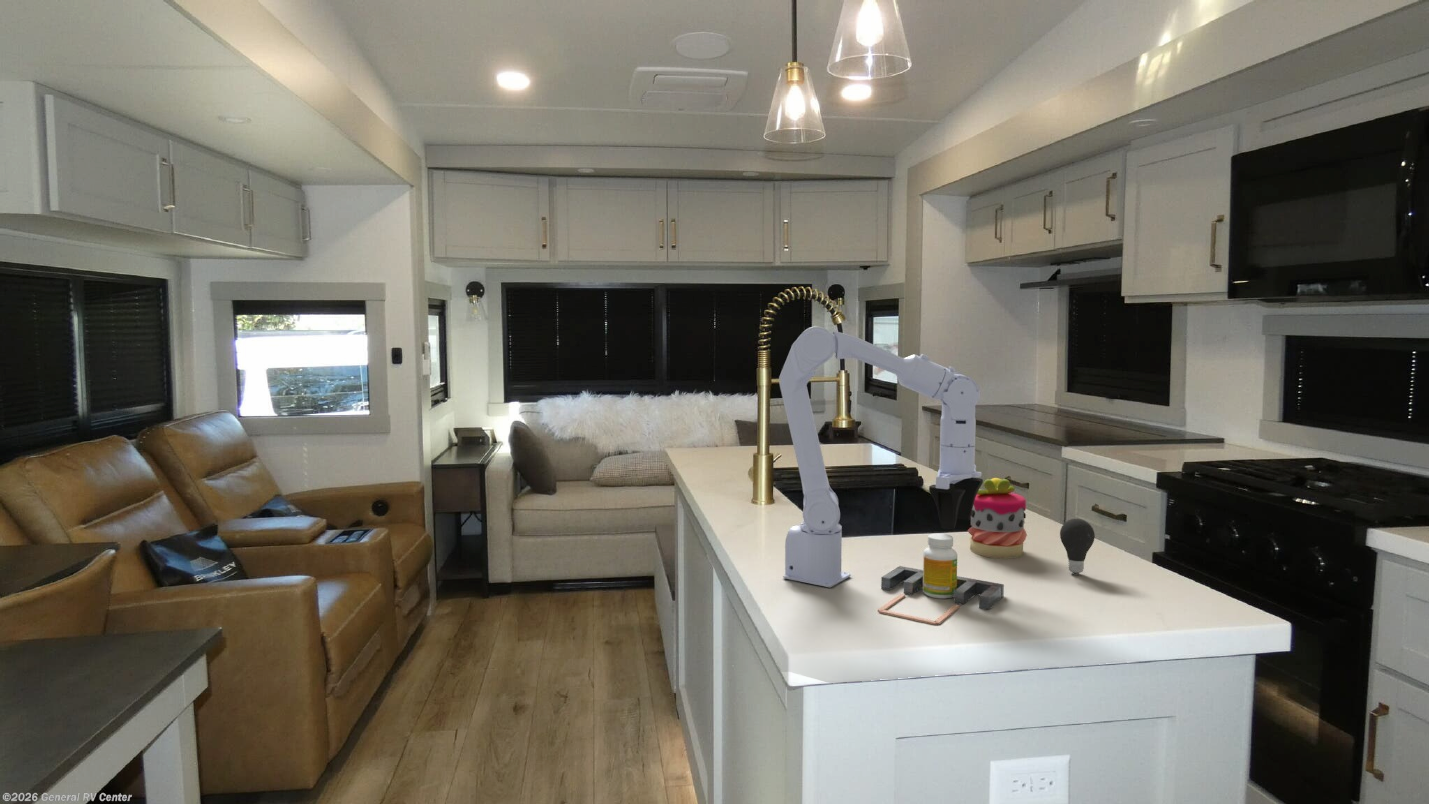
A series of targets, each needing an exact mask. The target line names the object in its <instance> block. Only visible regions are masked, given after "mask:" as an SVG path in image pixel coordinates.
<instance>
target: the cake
mask: <svg viewBox="0 0 1429 804" xmlns="http://www.w3.org/2000/svg"><path fill="white" fill-rule="evenodd" d="M983 486H984V488H985V489H979V490H978V492H977V495H976V497H975V501H974V504H973V508H972V513H971V516H970V526H971V527H969V529H968V530H967V532H968V534H969V535H971V536H970V543H969V544H970V545H969V548H970V549H969V550H970V552H971V553H973V554H975V555H979V556H982V557H987V558H991V559H992V558H994V559H995V558H996V559H1014V558H1020V557H1021V556H1023V555H1024V542H1025V541H1026V538H1027V536H1028V534H1027V531H1026V530H1025V523H1026V522H1025V519H1026V517H1027V514H1026V512H1025V511H1026V508H1027V507H1026V506H1027V504H1026V503H1027V501H1026V499H1025V497H1023V495H1020V494H1017V493H1014V491H1015V487H1014V486H1013V485H1011V482H1010V481H1009V480H1008V479H1006V478H1004V479H1001V478H998V477H993V478H991V479H990V478H989V479H985V481H983Z"/></svg>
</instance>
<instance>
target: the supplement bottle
mask: <svg viewBox="0 0 1429 804" xmlns="http://www.w3.org/2000/svg"><path fill="white" fill-rule="evenodd" d="M927 545H928V547H926V548H925V549H924V550H923V556H922V557H923V562H922V563H923V564H922V565H923V566H922V568H923V569H922V570H923V588H922V593H923V594H924V595H925V596H927V597H930V598H933V599H943V600H944V599H952V598H954V591H955V590H956V589H957V576H958V553H957V551H956V550H955V549H954V548H952V547H953V546H954V536H952V535H950V534H946V533H931V534H930V533H929V534H928V536H927Z"/></svg>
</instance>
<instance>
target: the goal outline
mask: <svg viewBox="0 0 1429 804" xmlns="http://www.w3.org/2000/svg"><path fill="white" fill-rule="evenodd" d="M905 598H906V594H905V593H903V594H902V593H899V595H897V596H896V597H894V598H892V599H891V600H890V601H888V602H887V603H885V604H884V605H883V606H880V607H879V608H878V609H877V612H878V613H879V614H882V615H883V614H884V615H888V616H893V617H898V618H901V619H906V620H911V621H916V622H920V623H925V624H930V625H934V626H935V625H941V624H943V622H944V621H945V620H946V619H948V618H949V617H950V616H952V614H954V613H955V612H956V611H957V610H959V608H960V607H961V606H960V604H953V605H952V606H951V607H950V608H949V609H947V610H946V611H945V612H944V613H943V614H941V615H940V616H939V617H937V619H935V620H934V619H933V620H932V619H929V618H923V617H919V616H913V615H910V614H909V615H908V614H904V613H901V612H895V611H891V610H889V608H891V607H893V606H894V605H895V604H897V603H899V602H900V601H901V600H903V599H905Z"/></svg>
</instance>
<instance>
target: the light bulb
mask: <svg viewBox="0 0 1429 804" xmlns="http://www.w3.org/2000/svg"><path fill="white" fill-rule="evenodd" d="M1059 536H1060V537H1059V538H1060V541H1061V543H1062V545H1063V546H1064V548H1065V551H1066V556H1067V559H1068V567H1067V568H1068V571H1070V572H1071V573H1072V574H1073V575H1075V576H1078V575H1080V574H1081V573H1083V572H1084V568H1085V561H1086V558H1087V554H1088V552H1089V550H1090V549H1091V547H1092V546H1093V544H1094V543H1095V539H1096V538H1095V537H1096V535H1095V531H1094V528H1093V526H1092V525H1091V524H1090V523H1089V522H1088V521H1086V520H1084V519H1081V518H1071V519H1069V520H1067V521H1065V522H1064V523H1063V524H1062V525H1061V528H1060V530H1059Z"/></svg>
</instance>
